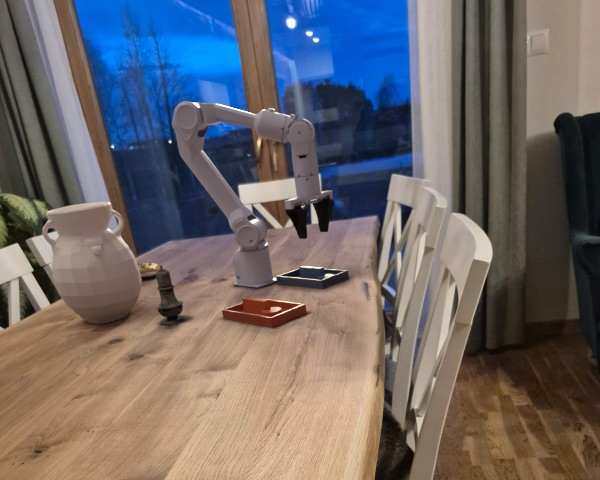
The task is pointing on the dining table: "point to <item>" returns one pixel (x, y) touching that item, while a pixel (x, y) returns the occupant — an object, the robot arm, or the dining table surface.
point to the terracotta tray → (288, 313)
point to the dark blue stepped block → (313, 272)
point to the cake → (148, 268)
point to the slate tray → (295, 279)
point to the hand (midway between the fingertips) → (313, 235)
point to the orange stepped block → (260, 307)
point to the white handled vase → (93, 262)
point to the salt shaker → (168, 299)
